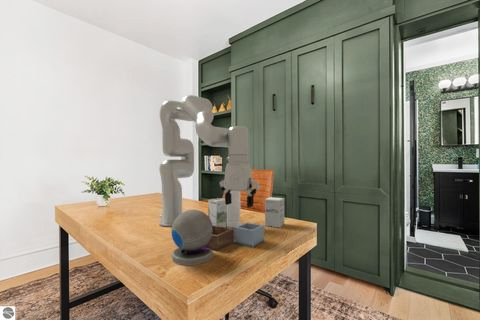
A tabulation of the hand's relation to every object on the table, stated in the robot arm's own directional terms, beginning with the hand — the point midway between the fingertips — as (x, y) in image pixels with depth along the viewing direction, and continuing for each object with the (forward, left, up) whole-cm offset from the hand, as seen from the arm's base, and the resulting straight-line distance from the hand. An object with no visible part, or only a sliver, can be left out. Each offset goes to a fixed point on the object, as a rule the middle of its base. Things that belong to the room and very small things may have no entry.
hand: (238, 205), depth 88 cm
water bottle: (-15, +18, -14) cm, 28 cm away
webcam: (-6, -18, -14) cm, 24 cm away
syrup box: (-14, +4, -14) cm, 20 cm away
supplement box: (+1, +28, -14) cm, 32 cm away
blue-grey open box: (+3, +2, -14) cm, 14 cm away
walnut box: (-7, -6, -14) cm, 17 cm away
